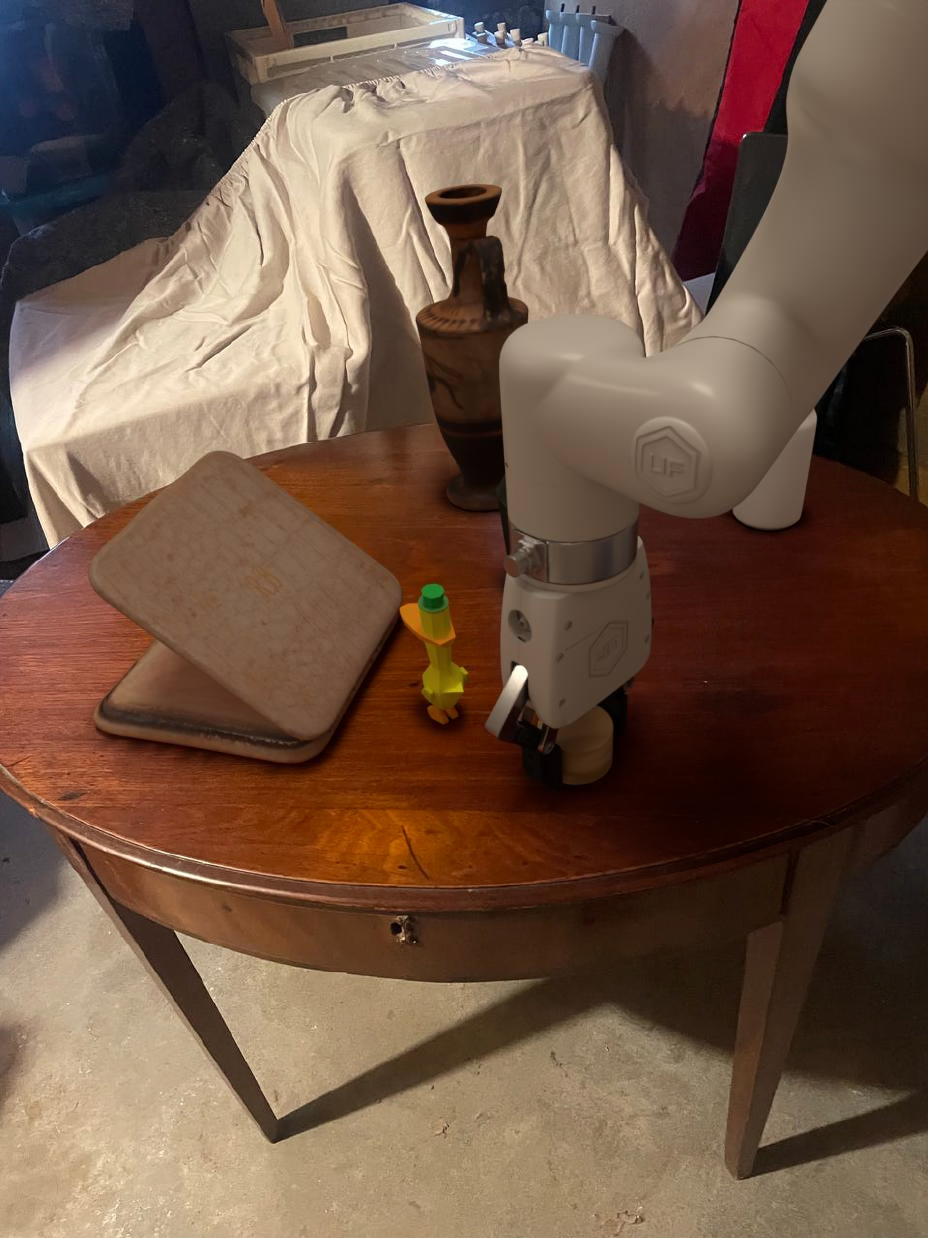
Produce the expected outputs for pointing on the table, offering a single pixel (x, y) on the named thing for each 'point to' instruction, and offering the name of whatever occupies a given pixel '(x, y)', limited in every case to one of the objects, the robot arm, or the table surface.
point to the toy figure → (436, 651)
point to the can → (781, 484)
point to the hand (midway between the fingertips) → (575, 751)
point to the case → (240, 616)
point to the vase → (470, 343)
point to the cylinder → (586, 747)
